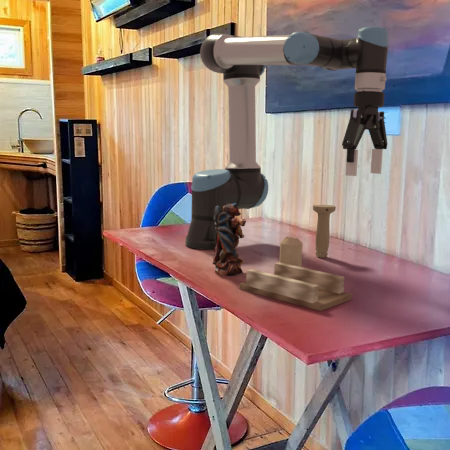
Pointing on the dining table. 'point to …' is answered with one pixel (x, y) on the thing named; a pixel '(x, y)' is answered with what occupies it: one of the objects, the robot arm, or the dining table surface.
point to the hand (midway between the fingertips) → (363, 174)
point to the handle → (323, 229)
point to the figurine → (228, 240)
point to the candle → (291, 251)
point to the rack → (298, 286)
